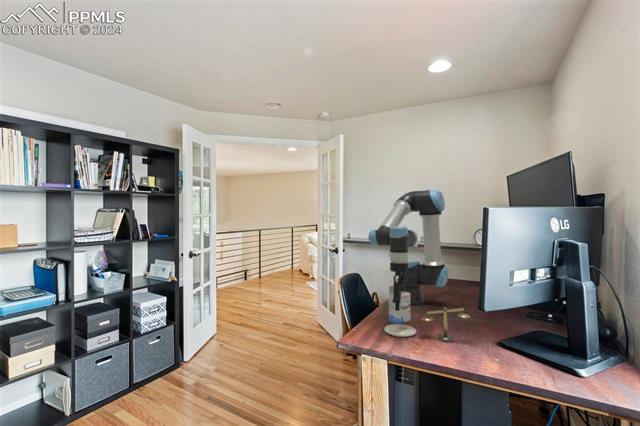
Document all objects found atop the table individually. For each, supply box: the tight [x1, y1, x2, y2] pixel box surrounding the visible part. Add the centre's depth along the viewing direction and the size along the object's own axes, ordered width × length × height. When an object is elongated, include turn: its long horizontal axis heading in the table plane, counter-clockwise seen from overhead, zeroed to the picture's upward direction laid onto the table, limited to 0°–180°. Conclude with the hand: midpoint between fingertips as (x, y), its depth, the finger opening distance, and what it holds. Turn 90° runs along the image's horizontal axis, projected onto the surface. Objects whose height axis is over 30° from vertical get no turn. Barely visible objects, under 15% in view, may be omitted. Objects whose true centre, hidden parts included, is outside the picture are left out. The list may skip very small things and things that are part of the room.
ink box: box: [388, 285, 411, 324], centre depth 129 cm, size 8×5×15 cm, turn 123°
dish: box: [384, 323, 417, 338], centre depth 129 cm, size 13×13×1 cm
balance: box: [421, 306, 471, 343], centre depth 121 cm, size 6×18×13 cm, turn 66°
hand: (399, 314), depth 129 cm, fingers closed on ink box, 9 cm apart
